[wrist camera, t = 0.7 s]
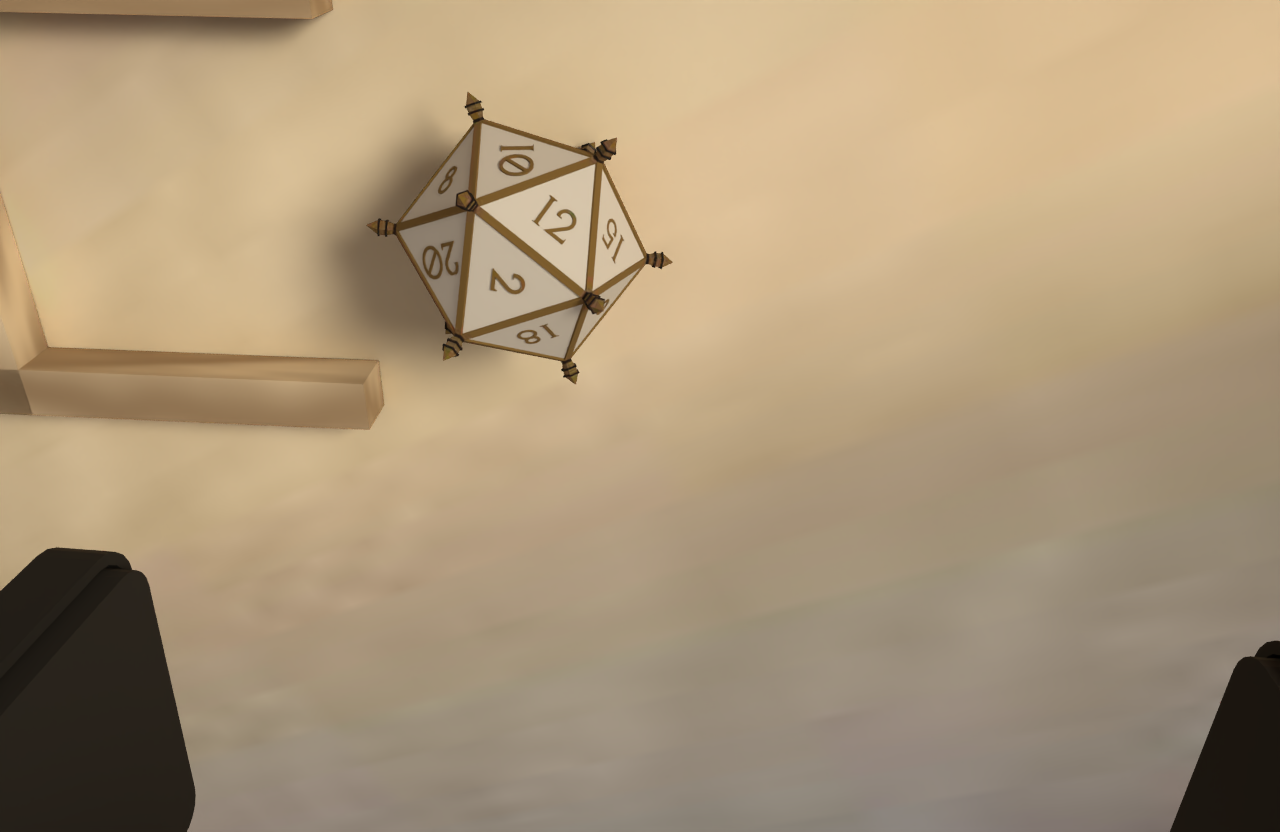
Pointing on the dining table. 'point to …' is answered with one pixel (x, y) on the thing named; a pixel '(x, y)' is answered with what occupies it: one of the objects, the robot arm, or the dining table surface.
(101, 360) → the u-shaped tan bracket
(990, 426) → the dining table surface
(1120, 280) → the dining table surface
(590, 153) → the game die
